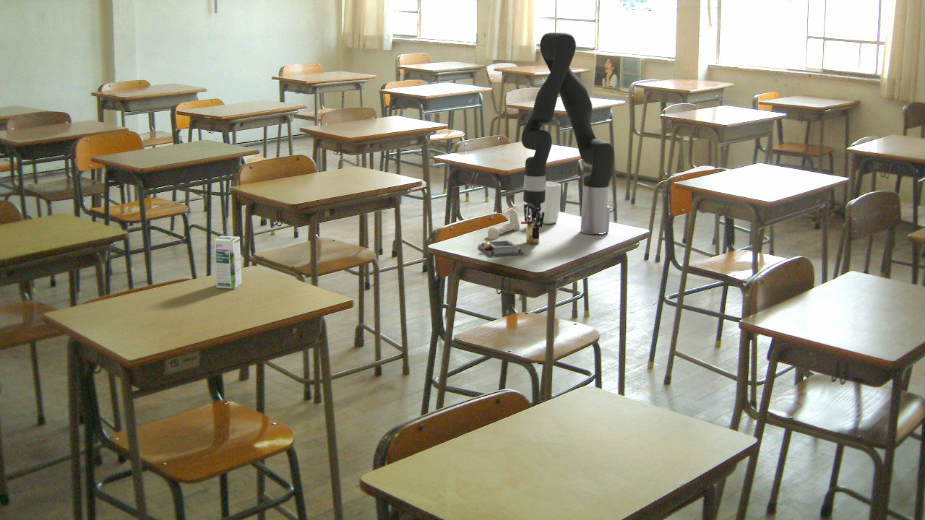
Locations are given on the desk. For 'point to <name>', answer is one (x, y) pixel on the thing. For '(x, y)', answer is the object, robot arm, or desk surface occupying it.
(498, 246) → the grey compartment tray
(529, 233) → the valve
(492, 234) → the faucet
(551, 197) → the cup
